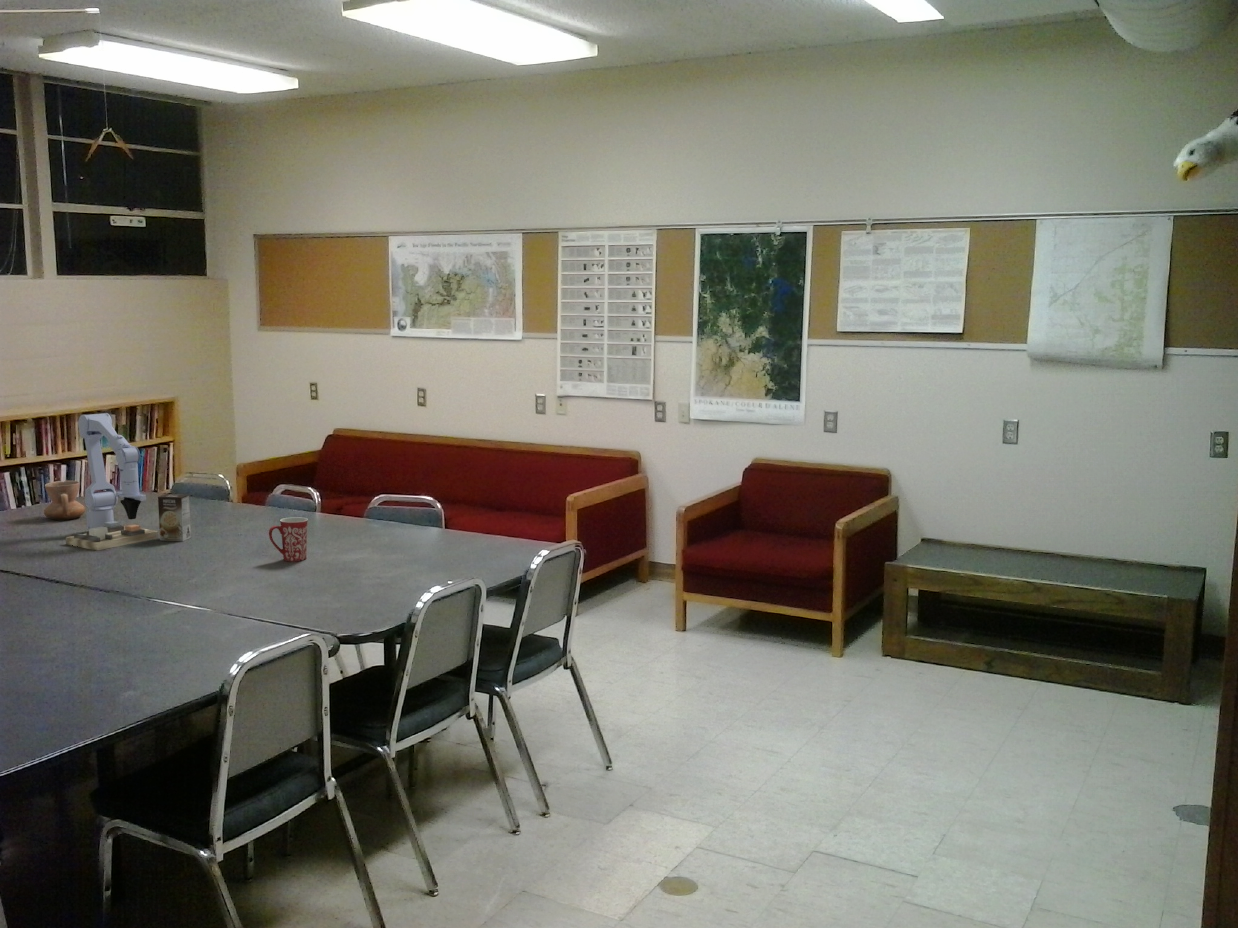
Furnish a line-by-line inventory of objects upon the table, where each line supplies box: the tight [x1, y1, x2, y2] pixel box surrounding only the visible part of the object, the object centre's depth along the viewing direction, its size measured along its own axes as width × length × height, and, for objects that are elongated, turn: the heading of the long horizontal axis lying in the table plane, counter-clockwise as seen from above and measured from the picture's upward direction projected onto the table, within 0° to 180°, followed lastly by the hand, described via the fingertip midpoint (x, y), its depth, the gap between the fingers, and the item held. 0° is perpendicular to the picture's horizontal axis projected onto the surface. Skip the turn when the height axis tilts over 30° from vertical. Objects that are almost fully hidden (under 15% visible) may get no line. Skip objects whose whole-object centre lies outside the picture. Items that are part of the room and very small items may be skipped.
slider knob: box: [89, 527, 108, 540], centre depth 378 cm, size 3×5×4 cm, turn 149°
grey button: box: [104, 520, 121, 528], centre depth 393 cm, size 4×4×2 cm
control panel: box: [65, 524, 159, 551], centre depth 387 cm, size 18×24×4 cm
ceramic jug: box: [43, 480, 86, 521], centre depth 426 cm, size 18×14×14 cm
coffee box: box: [157, 493, 192, 542], centre depth 390 cm, size 9×6×16 cm
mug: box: [268, 516, 309, 562], centre depth 360 cm, size 13×9×14 cm
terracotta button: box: [124, 524, 141, 531], centre depth 387 cm, size 4×4×2 cm
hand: (132, 518), depth 387 cm, fingers closed
